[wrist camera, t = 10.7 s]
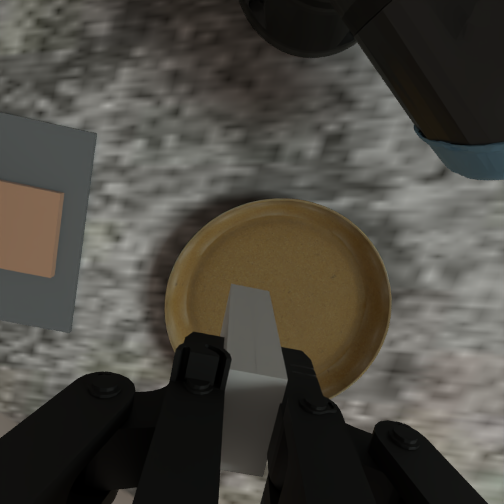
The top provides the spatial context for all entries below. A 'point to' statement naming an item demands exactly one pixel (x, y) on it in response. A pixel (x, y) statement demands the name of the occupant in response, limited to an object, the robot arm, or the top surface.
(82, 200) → the mat
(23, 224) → the tile
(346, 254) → the plant saucer
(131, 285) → the top surface
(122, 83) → the top surface
